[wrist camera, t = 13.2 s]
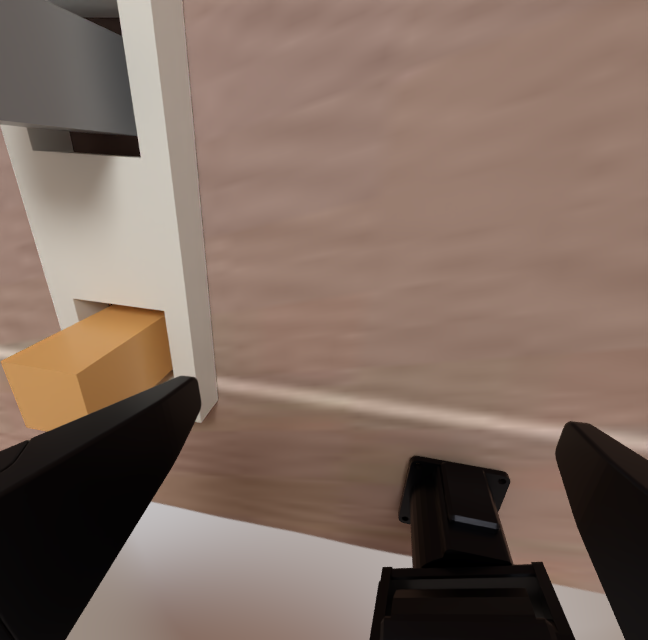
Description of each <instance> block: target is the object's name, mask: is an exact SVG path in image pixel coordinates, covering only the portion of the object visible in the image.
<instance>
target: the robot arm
mask: <svg viewBox="0 0 648 640" xmlns="http://www.w3.org/2000/svg"><path fill="white" fill-rule="evenodd" d="M200 410H201V396H200V390H199V384H198V380H197V379H196V378H195V377H191V376H178V377H176V378H173V379H171V380H169V381H166V382H164V383H162V384H159V385H157V386H154V387H152V388H150V389H147V390H145V391H143V392H140V393H138V394H135V395H133V396H131V397H128V398H126V399H124V400H121V401H119V402H116V403H114V404H112V405H109V406H107V407H105V408H102V409H100V410H97V411H95V412H93V413H90V414H88V415H86V416H83V417H81V418H78V419H76V420H74V421H71V422H69V423H67V424H64V425H62V426H59V427H57V428H55V429H52V430H50V431H48V432H45V433H43V434H40V435H38V436H36V437H33V438H31V440H30V441H29V440H26V441H24V442H21V443H19V444H17V445H14V446H12V447H9V448H7V449H5V450H2V451H0V640H65V639H66V638H67V636H68V635H69V633H70V632H71V630H72V628H73V627H74V625H75V623H76V622H77V620H78V618H79V617H80V615H81V614H82V612H83V610H84V609H85V607H86V606H87V604H88V602H89V601H90V599H91V598H92V596H93V594H94V592H95V591H96V589H97V588H98V586H99V585H100V583H101V581H102V580H103V578H104V576H105V575H106V573H107V571H108V570H109V568H110V567H111V565H112V563H113V562H114V560H115V558H116V557H117V555H118V554H119V552H120V551H121V549H122V547H123V546H124V544H125V542H126V541H127V539H128V538H129V536H130V534H131V533H132V531H133V529H134V528H135V526H136V524H137V523H138V521H139V520H140V518H141V517H142V515H143V513H144V512H145V510H146V508H147V507H148V505H149V504H150V502H151V500H152V499H153V497H154V496H155V494H156V492H157V491H158V489H159V487H160V486H161V484H162V483H163V481H164V479H165V478H166V476H167V474H168V473H169V471H170V470H171V468H172V466H173V464H174V463H175V461H176V459H177V457H178V455H179V453H180V451H181V449H182V447H183V445H184V443H185V441H186V439H187V437H188V435H189V433H190V431H191V429H192V427H193V425H194V423H195V421H196V418H197V416H198V414H199V412H200ZM555 456H556V461H557V464H558V467H559V471H560V474H561V477H562V480H563V484H564V487H565V490H566V493H567V496H568V500H569V503H570V506H571V509H572V513H573V516H574V519H575V522H576V525H577V527H578V530H579V532H580V535H581V537H582V540H583V542H584V544H585V547H586V549H587V551H588V554H589V556H590V558H591V561H592V563H593V566H594V568H595V570H596V573H597V575H598V577H599V580H600V582H601V584H602V587H603V589H604V591H605V594H606V596H607V598H608V601H609V603H610V605H611V608H612V610H613V612H614V615H615V617H616V619H617V622H618V624H619V626H620V629H621V630H622V633H623V636H624V638H625V640H648V460H647V459H645V458H643V457H642V456H640V455H639V454H637V453H636V452H634V451H632V450H631V449H629V448H628V447H626V446H624V445H623V444H621V443H620V442H618V441H616V440H615V439H613V438H612V437H610V436H609V435H607V434H605V433H604V432H602V431H601V430H599V429H597V428H596V427H594V426H593V425H591V424H588V423H582V422H573V421H570V422H567V423H566V424H565V426H564V428H563V431H562V433H561V436H560V439H559V441H558V444H557V447H556V451H555ZM416 463H419V464H416ZM509 485H510V479H509V476H508V474H507V473H506V472H503V471H498V470H492V469H487V468H481V467H475V466H470V465H464V464H459V463H453V462H448V461H442V460H437V459H431V458H425V457H420V456H415V457H412V458H411V460H410V464H409V468H408V473H407V477H406V481H405V486H404V490H403V495H402V499H401V504H400V508H399V512H398V514H399V520H400V521H401V522H403V523H406V524H411V542H412V562H413V568H398V569H393V568H392V567H383V569H382V575H381V580H380V581H379V585H378V592H377V597H376V603H375V610H374V616H373V622H372V628H371V634H370V640H575V638H574V635H573V633H572V630H571V628H570V626H569V624H568V621H567V619H566V617H565V614H564V612H563V609H562V607H561V605H560V602H559V600H558V598H557V595H556V593H555V591H554V588H553V586H552V583H551V581H550V579H549V576H548V574H547V572H546V569H545V567H544V565H543V562H531V564H523V565H513V561H512V558H511V555H510V551H509V548H508V545H507V541H506V538H505V535H504V531H503V528H502V525H501V521H500V518H499V515H498V511H499V509H500V506H501V504H502V502H503V499H504V497H505V494H506V492H507V489H508V487H509Z"/></svg>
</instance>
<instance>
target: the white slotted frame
mask: <svg viewBox="0 0 648 640" xmlns="http://www.w3.org/2000/svg"><path fill="white" fill-rule="evenodd" d="M46 1H48V2H50V3H52V4H55V5H57V6H59V7H61V8H63V9H65V10H67V11H69V12H72V13H74V14H76V15H78V16H80V17H90V18H120V24H121V30H122V37H123V43H124V50H125V56H126V63H127V70H128V76H129V83H130V89H131V96H132V103H133V109H134V116H135V122H136V129H137V136H138V142H139V149H140V155H141V157H139V156H124V155H110V154H95V153H81V152H74V150H73V145H72V141H71V137H70V132H69V131H60V130H50V129H40V128H30V127H20V126H10V125H0V126H1V130H2V133H3V136H4V140H5V143H6V146H7V150H8V153H9V156H10V160H11V163H12V167H13V170H14V173H15V177H16V180H17V183H18V187H19V190H20V193H21V197H22V200H23V203H24V207H25V210H26V213H27V217H28V220H29V224H30V227H31V230H32V234H33V237H34V240H35V244H36V247H37V250H38V254H39V257H40V260H41V264H42V267H43V270H44V274H45V277H46V281H47V284H48V287H49V291H50V294H51V297H52V301H53V304H54V307H55V311H56V314H57V317H58V321H59V324H60V327H61V331H62V330H64V329H66V328H68V327H70V326H72V325H74V324H75V323H77V322H79V321H81V320H83V319H85V318H87V317H89V316H91V315H93V314H95V313H97V312H99V311H101V310H103V309H105V308H107V307H109V305H108V303H110V304H117V305H124V306H132V307H139V308H146V309H154V310H161V311H164V313H165V320H166V327H167V333H168V340H169V346H170V353H171V359H172V366H173V370H171V371H170V372H169V373H168V374H167V375H166V376H165V377H164V378H163V379H162V380H161V381H160V382H158V383H157V384H156V385H155V386H157V385H159V384H162V383H164V382H166V381H169V380H171V379H173V378H176V377H178V376H191V377H195V378H196V379H197V380H198V384H199V390H200V396H201V410H200V412H199V414H198V416H197V418H196V421H195V422H199V423H202V421H203V420H204V418H205V417H206V416H207V414H208V413H209V412H210V410H211V409H212V408H213V406H214V405H215V404H216V402H217V401H218V392H217V381H216V370H215V358H214V347H213V336H212V325H211V314H210V303H209V291H208V280H207V269H206V258H205V247H204V236H203V225H202V213H201V202H200V191H199V180H198V169H197V158H196V146H195V135H194V124H193V113H192V102H191V91H190V79H189V68H188V57H187V46H186V35H185V24H184V13H183V1H182V0H46Z"/></svg>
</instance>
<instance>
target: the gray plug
mask: <svg viewBox="0 0 648 640" xmlns="http://www.w3.org/2000/svg"><path fill="white" fill-rule="evenodd" d="M0 125H10V126H20V127H30V128H40V129H50V130H60V131H70V132H80V133H94V134H110V135H127V136H137V129H136V122H135V116H134V109H133V103H132V96H131V89H130V83H129V76H128V70H127V63H126V56H125V50H124V43H123V37H122V36H121V35H118V34H116V33H114V32H112V31H110V30H108V29H106V28H104V27H101V26H99V25H97V24H95V23H93V22H91V21H89V20H87V19H84V18H82V17H80V16H78V15H76V14H74V13H72V12H69V11H67V10H65V9H63V8H61V7H59V6H57V5H55V4H52V3H50V2H48V1H46V0H0Z"/></svg>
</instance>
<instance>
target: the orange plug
mask: <svg viewBox="0 0 648 640" xmlns="http://www.w3.org/2000/svg"><path fill="white" fill-rule="evenodd" d="M1 364H2V366H3V369H4V371H5V374H6V376H7V379H8V382H9V384H10V387H11V389H12V392H13V394H14V397H15V399H16V402H17V404H18V407H19V409H20V412H21V414H22V417H23V420H24V422H25V425H26V427H27V428H32V429H37V430H42V431H47V432H48V431H50V430H52V429H55V428H57V427H59V426H62V425H64V424H67V423H69V422H71V421H74V420H76V419H78V418H81V417H83V416H86V415H88V414H90V413H93V412H95V411H97V410H100V409H102V408H105V407H107V406H109V405H112V404H114V403H116V402H119V401H121V400H124V399H126V398H128V397H131V396H133V395H135V394H138V393H140V392H143V391H145V390H147V389H150V388H152V387H154V386H155V385H156V384H157V383H158V382H160V381H161V380H162V379H163V378H164V377H165V376H166V375H167V374H168V373H169V372H170V371H171V370H172V369H173V366H172V359H171V353H170V346H169V340H168V333H167V327H166V320H165V313H164V311H161V310H154V309H146V308H139V307H132V306H124V305H117V304H113V305H111V306H109V307H107V308H105V309H103V310H101V311H99V312H97V313H95V314H93V315H91V316H89V317H87V318H85V319H83V320H81V321H79V322H77V323H75V324H74V325H72V326H70V327H68V328H66V329H64V330H62V331H60V332H58V333H56V334H54V335H52V336H50V337H48V338H46V339H44V340H42V341H40V342H38V343H36V344H34V345H32V346H30V347H28V348H26V349H24V350H22V351H20V352H18V353H16V354H14V355H12V356H10V357H8V358H6V359H4V360H2V361H1Z"/></svg>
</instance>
